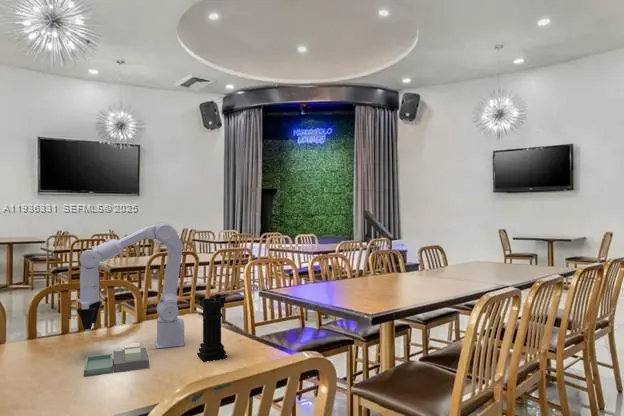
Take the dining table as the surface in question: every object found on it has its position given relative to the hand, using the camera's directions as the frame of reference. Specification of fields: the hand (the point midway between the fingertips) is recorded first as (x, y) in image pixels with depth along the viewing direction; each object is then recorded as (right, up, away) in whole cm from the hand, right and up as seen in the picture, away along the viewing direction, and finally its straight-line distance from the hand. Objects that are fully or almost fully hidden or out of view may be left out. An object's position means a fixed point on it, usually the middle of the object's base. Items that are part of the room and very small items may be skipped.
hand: (90, 326), depth 153 cm
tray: (+8, -10, -12) cm, 17 cm away
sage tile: (+19, -7, -11) cm, 23 cm away
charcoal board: (+17, -10, -8) cm, 21 cm away
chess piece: (+41, -10, -2) cm, 43 cm away
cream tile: (+16, -7, -5) cm, 18 cm away
